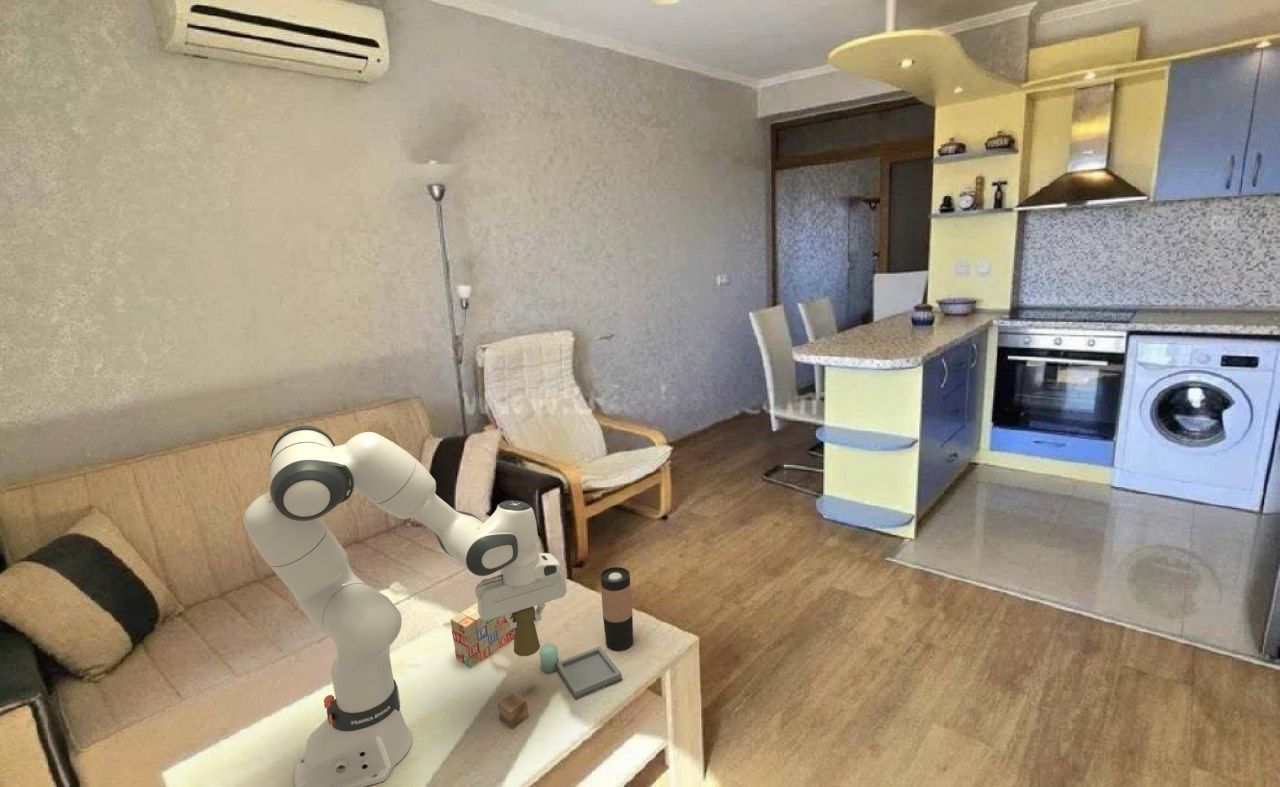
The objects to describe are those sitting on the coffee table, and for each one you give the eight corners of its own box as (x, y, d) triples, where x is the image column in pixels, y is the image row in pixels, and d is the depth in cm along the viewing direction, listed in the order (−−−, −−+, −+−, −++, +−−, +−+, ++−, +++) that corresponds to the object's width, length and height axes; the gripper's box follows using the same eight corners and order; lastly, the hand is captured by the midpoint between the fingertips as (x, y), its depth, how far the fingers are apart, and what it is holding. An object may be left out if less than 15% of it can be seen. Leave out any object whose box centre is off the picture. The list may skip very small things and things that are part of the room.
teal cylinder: (545, 675, 152) (543, 657, 150) (538, 665, 155) (536, 647, 154) (561, 668, 154) (560, 651, 153) (554, 658, 158) (553, 641, 156)
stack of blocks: (518, 618, 175) (514, 579, 172) (534, 625, 172) (529, 586, 169) (455, 660, 159) (449, 618, 156) (471, 669, 155) (465, 626, 152)
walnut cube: (512, 729, 135) (510, 712, 134) (500, 720, 138) (497, 703, 137) (528, 717, 139) (526, 700, 137) (516, 708, 142) (514, 691, 140)
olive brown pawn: (533, 657, 141) (530, 614, 138) (509, 654, 142) (505, 612, 140) (543, 641, 147) (540, 599, 144) (520, 638, 148) (516, 597, 146)
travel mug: (599, 642, 163) (593, 574, 158) (621, 629, 168) (617, 563, 163) (617, 656, 157) (612, 586, 152) (640, 642, 162) (636, 574, 157)
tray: (575, 699, 143) (574, 692, 143) (556, 669, 153) (556, 662, 153) (621, 680, 148) (621, 673, 148) (600, 652, 159) (600, 646, 158)
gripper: (478, 588, 132) (484, 645, 136) (567, 563, 142) (570, 616, 145) (470, 576, 138) (476, 630, 141) (557, 552, 147) (560, 604, 150)
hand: (525, 623), depth 143 cm, fingers closed on olive brown pawn, 4 cm apart
